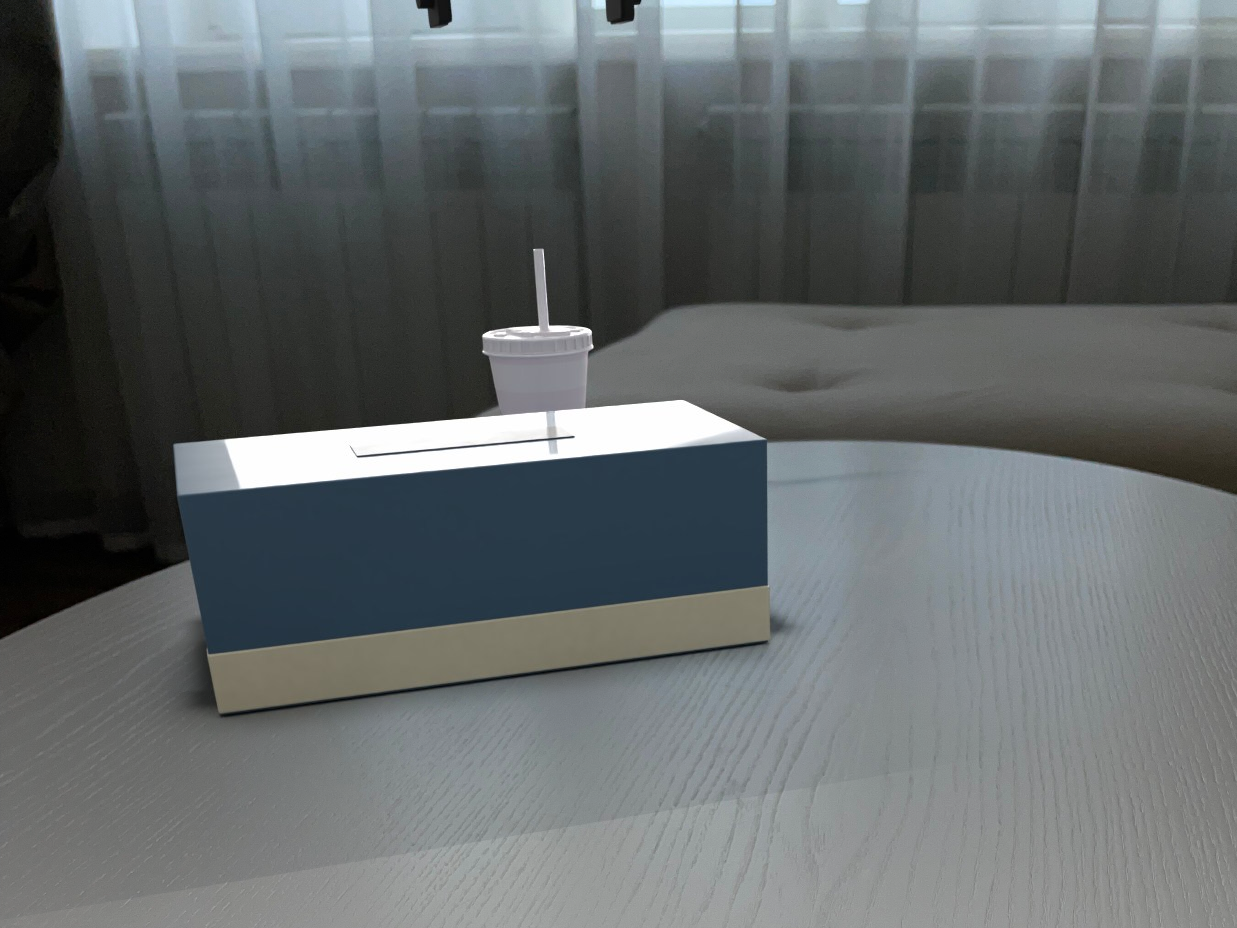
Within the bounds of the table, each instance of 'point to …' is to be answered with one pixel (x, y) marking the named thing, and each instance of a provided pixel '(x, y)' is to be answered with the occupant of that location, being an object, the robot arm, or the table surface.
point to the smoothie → (539, 360)
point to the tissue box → (472, 549)
